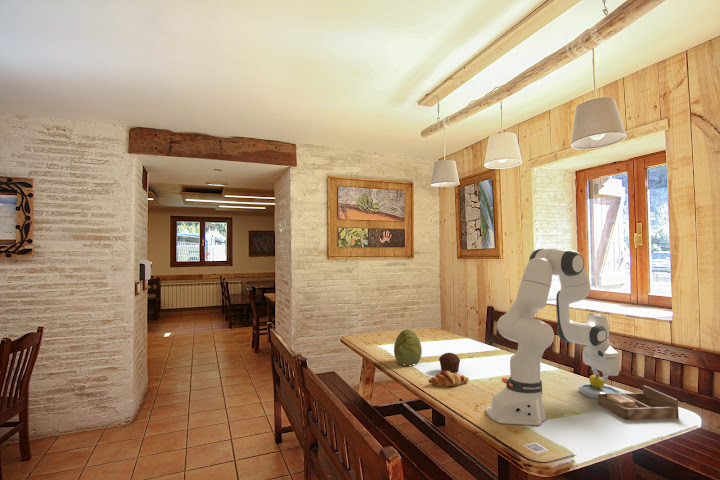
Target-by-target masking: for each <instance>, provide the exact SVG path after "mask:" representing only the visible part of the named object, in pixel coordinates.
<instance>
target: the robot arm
mask: <svg viewBox="0 0 720 480" xmlns="http://www.w3.org/2000/svg"><path fill="white" fill-rule="evenodd" d="M584 259H585V258H584V257H583V256H582V255H581V253H580V252H578V251H576V250H573V249H559V248H537V249H535V250H534V251H532V253H531V254H530V256H529V259H528V262H527V264H526V266H525V268H524V270H523V274H522V277H521V279H520V284H519V287H518V291H517V293H516V294H517V295H516V297H515V300H514V301H513V303H512V305H511V307H509V309H508V310H507V312H506V313H505V314H502V315H501V316H500V317H499V319H498V320H497V323H496V324H497V325H496V328H497V332H498V333H499V335H501V336H502V337H504V338H505V339H507V340H508V341H512V342H515V343H517V350H516V353H514V354H513V355H512V356H510V359H509V362H510V363H509V366H510V367H509V369H510V371H509V372H510V376H509V378H507V377H505V376H503V377H502V378H501V382H502V383H504V384H505V385H506V386H505V387H504V388H502V390H500V391H499V392H497V393H495V394H494V395H493V396H492V399H491V406H490V405H489V406H486V407H485V413H486V415H487V416H488V417H489V418H491V420H493V421H494V422H496V423H499V424H507V425H508V424H510V425H523V426H524V425H525V426H541V425H542V423H543V422H544V421H546V420H547V415H546V412H545V407H544V403H543V396H542V395H543V381H542V379H541V361H542V357H543V354H544V352H545V350H546V349H548V348H549V347H550V346H552V343H553V342H554V339H555V332H554V330H553V327H552V326H551V325H550V324H549V323H547V322H544V321H542V320H540V319H537V318H535V316H536V314H537V313H538V312H539V311H541V310H543V309H544V308H545V307H546V306H547V302H548V298H549V294H550V291H551V286H552V279H553V276H558V278H559V282H560V290H558V291H557V293H556V297H555V298H556V300H555V302H556V303H555V304H556V305H555V306H556V316H557V326H556V329H557V330H556V333H557V337H559V339H561V341H562V342H564V343H569V344H571V343H572V344H578V345H584V346H583V350H582V362H583V364H585V365H587V366H590V367H591V371H592V372H593V375H594V377H596V378H599V377H601V378H602V381H604V383H605V382H606V383H607V382H609V381H608V378H609V376H611V377H616V376H619V375H620V362H619V359H618V358H619V352H618V351H616V350H615V349H614V347H612V345H611V343H610V338H609V337H610V328H609V327H610V326H609V320H608V318H607V316H606V315H604V314H598V313H588V314H587V316H586V321H585V322H580V321H574V320H572V319H571V317H570V314H571V313H570V304H574V303H577V302H581V301H582V300H584V299H586V298H587V297H588V296H589V294H590V292H591V283H590V278H589V274H588V272H587V269H586V267H585V260H584ZM599 371H600V372H602V376H600V373H599Z"/></svg>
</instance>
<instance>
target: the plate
mask: <svg viewBox="0 0 720 480" xmlns="http://www.w3.org/2000/svg"><path fill="white" fill-rule="evenodd" d="M578 392H579V393H581V394H582V395H583V396H586V397H588V398H592V399H597V400H598V394H613V393H622V391H621V390H618V389H617V388H614V387H613V386H609V385H604V386H603V387H602V388H595V387H593V386H592V385H591V384H590V383H583V384H582V383H581V385H580V386H578Z"/></svg>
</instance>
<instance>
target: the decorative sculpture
mask: <svg viewBox="0 0 720 480" xmlns="http://www.w3.org/2000/svg"><path fill="white" fill-rule="evenodd" d="M422 350H423V349H422V345H421V341H420V338H419V337H418V335H417V334H416V333H415V332H414V330H411V329H409V328H407V329H403V330H401V332H400V333H398V335H397V336H396V339H395V342H394V346H393V354H394V357H395V360H396V362H397V363H398V364H399V363H400V364H405V365H413V364H416V365H418V364H419V363H420V360H421V358H422V354H423V353H422V352H423V351H422ZM400 364H399V365H400ZM413 366H414V365H413Z"/></svg>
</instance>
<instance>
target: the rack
mask: <svg viewBox="0 0 720 480" xmlns="http://www.w3.org/2000/svg"><path fill="white" fill-rule="evenodd" d="M613 394H621V395H623V396H625V397H627V398H629V399H631V400H633V401H635V405H636V406H638V408H625V407H623V406H621V405H619V404H618V403H616V402H614V401H612V400H610V399H608V398H607V395H612V394H598V399H597V404H598V405H600V406H602V407H603V408H605V409H607V410H608V411H611V413H614V414H615V415H617V416H618V417H621V418H622V419H624V420H625V421H629V420H631V421H632V420H663V419H662V418H667V419H679V417H680V416H679V400H678V399H677V398H675V397H673V396H670V395H667V394H665V393H664V392H660V391H659V390H657V389H654V388H652V387H650V386H647V385H642V392H621V393H613ZM659 418H660V419H659Z"/></svg>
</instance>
